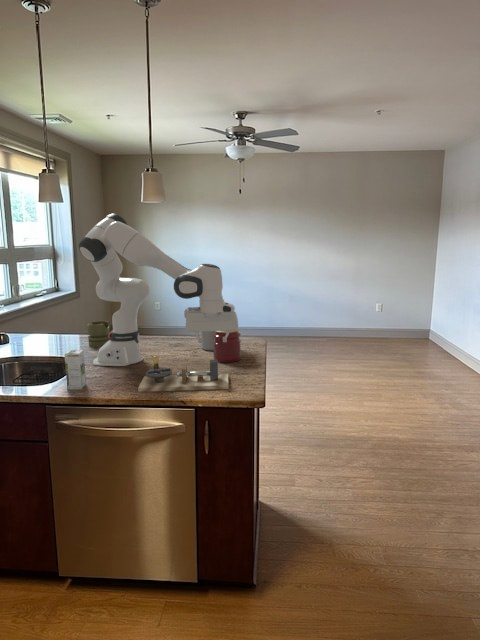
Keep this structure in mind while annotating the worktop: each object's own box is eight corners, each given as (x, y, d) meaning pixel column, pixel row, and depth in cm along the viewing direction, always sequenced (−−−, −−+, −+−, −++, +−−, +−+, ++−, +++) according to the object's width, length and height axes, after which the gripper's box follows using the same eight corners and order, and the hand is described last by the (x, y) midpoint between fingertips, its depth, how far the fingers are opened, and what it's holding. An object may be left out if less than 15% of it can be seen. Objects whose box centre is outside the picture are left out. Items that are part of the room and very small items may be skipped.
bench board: (138, 391, 161) (137, 381, 160) (144, 379, 175) (144, 369, 174) (228, 388, 163) (228, 378, 162) (228, 376, 176) (227, 367, 176)
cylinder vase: (216, 352, 214) (214, 302, 209) (196, 349, 220) (194, 301, 215) (229, 346, 224) (228, 299, 219) (210, 343, 231) (209, 297, 226)
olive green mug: (112, 320, 236) (103, 325, 225) (114, 342, 238) (105, 347, 227) (93, 320, 237) (83, 324, 226) (94, 341, 240) (85, 346, 229)
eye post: (182, 383, 165) (181, 369, 164) (184, 377, 172) (183, 363, 171) (186, 383, 165) (185, 369, 164) (187, 377, 172) (186, 363, 171)
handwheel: (160, 368, 174) (160, 354, 173) (177, 373, 168) (176, 358, 167) (140, 374, 167) (139, 359, 166) (157, 379, 161) (156, 364, 159)
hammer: (176, 381, 166) (175, 363, 165) (177, 378, 170) (176, 360, 169) (220, 380, 167) (219, 362, 166) (220, 376, 171) (219, 359, 170)
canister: (219, 364, 193) (218, 326, 190) (209, 357, 205) (208, 321, 202) (245, 360, 198) (244, 323, 195) (234, 353, 210) (233, 318, 207)
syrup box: (71, 385, 170) (68, 349, 167) (86, 384, 170) (83, 349, 167) (67, 390, 164) (63, 353, 161) (82, 389, 165) (79, 353, 162)
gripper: (183, 308, 160) (184, 344, 162) (238, 307, 160) (238, 343, 163) (184, 306, 166) (186, 340, 168) (237, 304, 166) (238, 339, 169)
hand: (212, 342), depth 166 cm, fingers open, 8 cm apart
